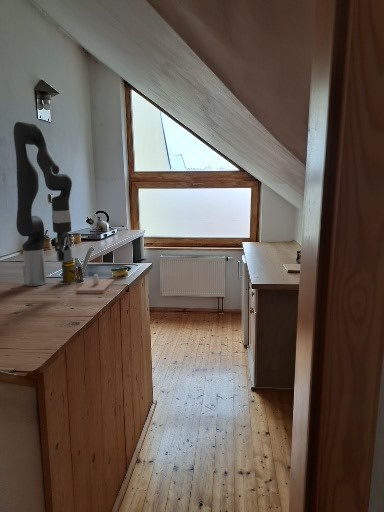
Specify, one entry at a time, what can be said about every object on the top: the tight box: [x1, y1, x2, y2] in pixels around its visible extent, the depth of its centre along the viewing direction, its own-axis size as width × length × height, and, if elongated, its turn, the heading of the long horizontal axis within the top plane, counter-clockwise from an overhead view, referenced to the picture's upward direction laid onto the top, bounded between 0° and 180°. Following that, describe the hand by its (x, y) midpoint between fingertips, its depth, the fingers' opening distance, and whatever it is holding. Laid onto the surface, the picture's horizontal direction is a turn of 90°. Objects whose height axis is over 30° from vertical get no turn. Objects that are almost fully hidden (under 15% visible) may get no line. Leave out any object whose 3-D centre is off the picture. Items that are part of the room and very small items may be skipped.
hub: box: [56, 248, 73, 263], centre depth 159 cm, size 6×6×5 cm
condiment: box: [57, 258, 76, 285], centre depth 179 cm, size 7×8×12 cm
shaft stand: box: [76, 273, 115, 294], centre depth 169 cm, size 12×19×6 cm, turn 178°
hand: (64, 258), depth 159 cm, fingers closed on hub, 6 cm apart
